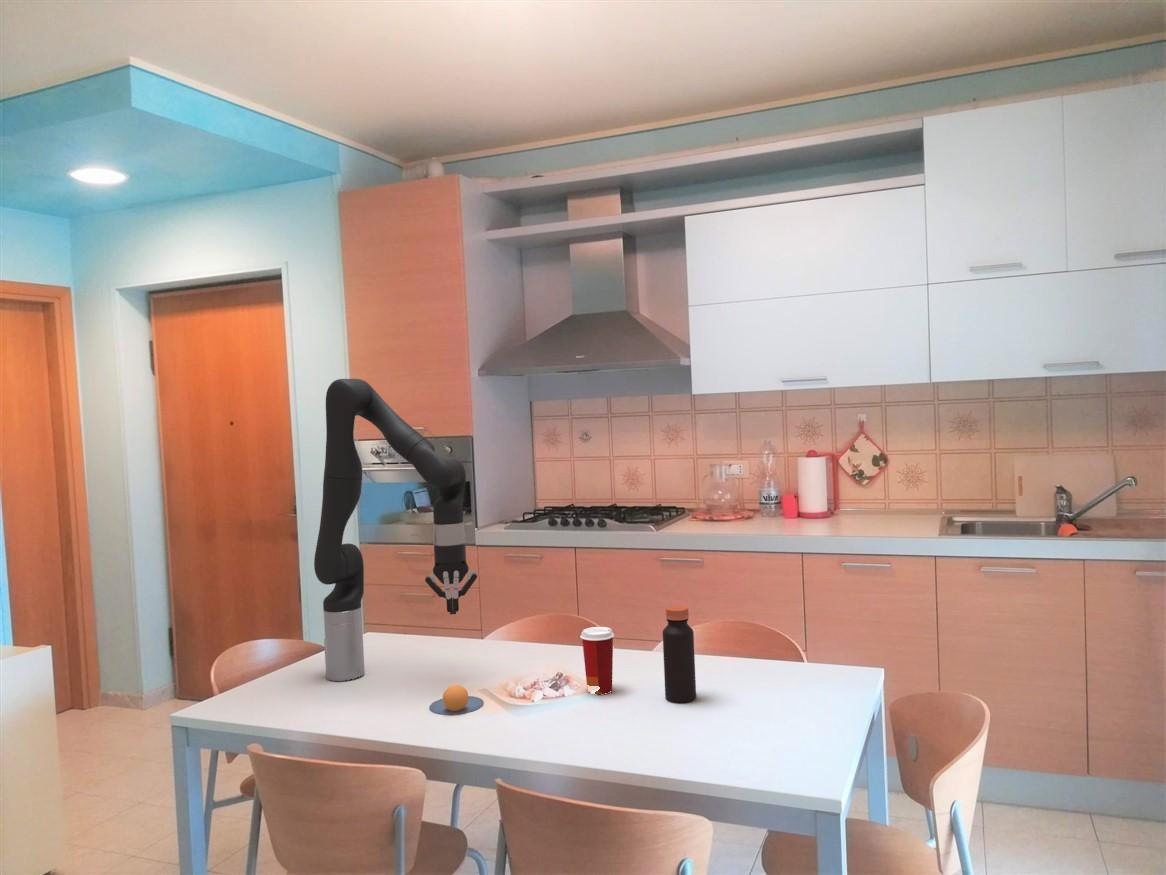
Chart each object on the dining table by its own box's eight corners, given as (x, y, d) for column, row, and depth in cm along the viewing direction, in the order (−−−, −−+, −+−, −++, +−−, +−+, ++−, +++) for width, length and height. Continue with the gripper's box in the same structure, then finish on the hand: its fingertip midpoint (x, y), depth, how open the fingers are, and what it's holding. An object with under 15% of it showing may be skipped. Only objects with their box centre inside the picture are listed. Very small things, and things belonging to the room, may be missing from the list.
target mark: (418, 707, 191) (418, 706, 191) (461, 693, 200) (461, 692, 200) (451, 718, 183) (451, 717, 183) (494, 703, 191) (494, 702, 191)
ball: (437, 697, 190) (437, 697, 184) (457, 679, 191) (457, 678, 186) (453, 716, 189) (453, 717, 184) (473, 699, 191) (474, 699, 185)
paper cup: (617, 685, 200) (614, 625, 200) (615, 696, 193) (612, 634, 192) (584, 686, 201) (581, 626, 201) (580, 696, 193) (578, 634, 193)
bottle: (695, 704, 185) (691, 611, 185) (663, 703, 187) (659, 611, 186) (697, 693, 192) (693, 604, 191) (667, 693, 193) (663, 604, 193)
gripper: (476, 538, 211) (480, 608, 211) (422, 541, 209) (425, 612, 209) (477, 542, 203) (481, 615, 204) (420, 546, 202) (424, 619, 202)
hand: (452, 613), depth 207 cm, fingers closed
